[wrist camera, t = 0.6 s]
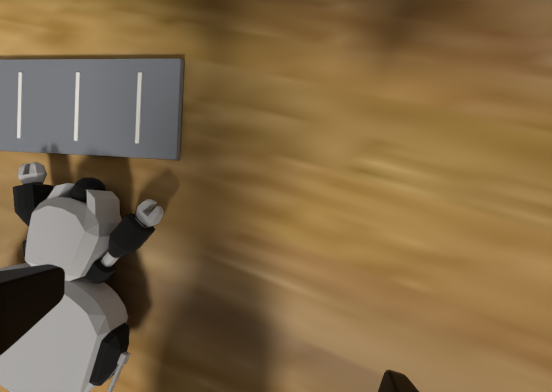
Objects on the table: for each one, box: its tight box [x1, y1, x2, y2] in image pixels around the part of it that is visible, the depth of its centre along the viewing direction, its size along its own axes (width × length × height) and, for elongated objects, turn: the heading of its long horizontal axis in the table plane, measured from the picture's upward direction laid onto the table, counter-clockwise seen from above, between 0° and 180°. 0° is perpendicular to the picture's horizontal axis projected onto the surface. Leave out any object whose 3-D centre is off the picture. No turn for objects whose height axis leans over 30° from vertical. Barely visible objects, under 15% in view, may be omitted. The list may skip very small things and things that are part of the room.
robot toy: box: [0, 162, 164, 392], centre depth 20 cm, size 12×4×15 cm
